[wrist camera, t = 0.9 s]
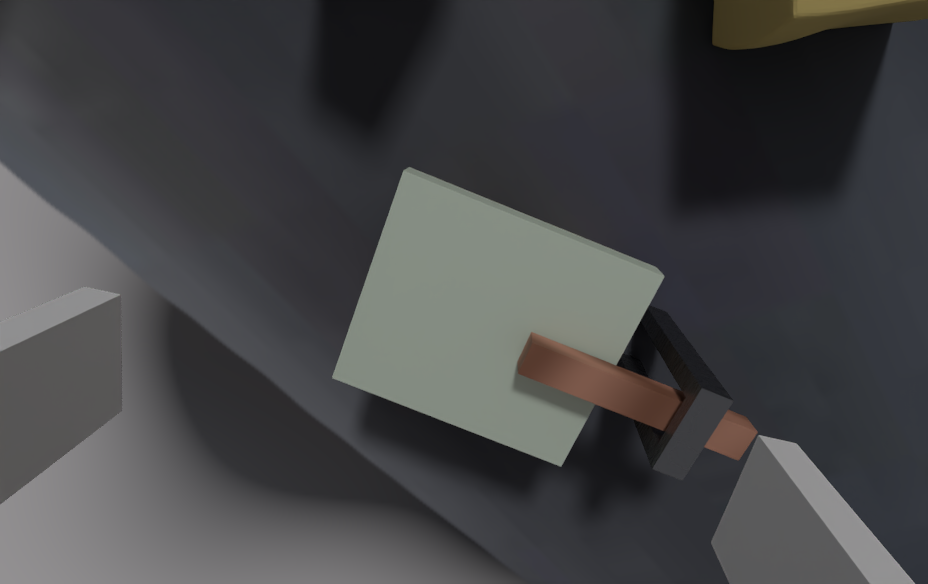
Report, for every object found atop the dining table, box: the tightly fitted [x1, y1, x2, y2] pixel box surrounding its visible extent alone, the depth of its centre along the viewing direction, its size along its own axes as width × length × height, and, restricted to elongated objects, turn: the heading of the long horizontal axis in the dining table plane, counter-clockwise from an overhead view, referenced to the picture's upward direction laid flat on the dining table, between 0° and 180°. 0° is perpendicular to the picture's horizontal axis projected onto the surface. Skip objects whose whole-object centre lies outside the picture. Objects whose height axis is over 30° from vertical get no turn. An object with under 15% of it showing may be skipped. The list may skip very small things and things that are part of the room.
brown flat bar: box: [517, 332, 757, 461], centre depth 28 cm, size 12×2×1 cm, turn 69°
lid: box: [332, 167, 665, 467], centre depth 30 cm, size 14×12×3 cm
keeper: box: [616, 305, 733, 480], centre depth 31 cm, size 2×5×12 cm, turn 159°
